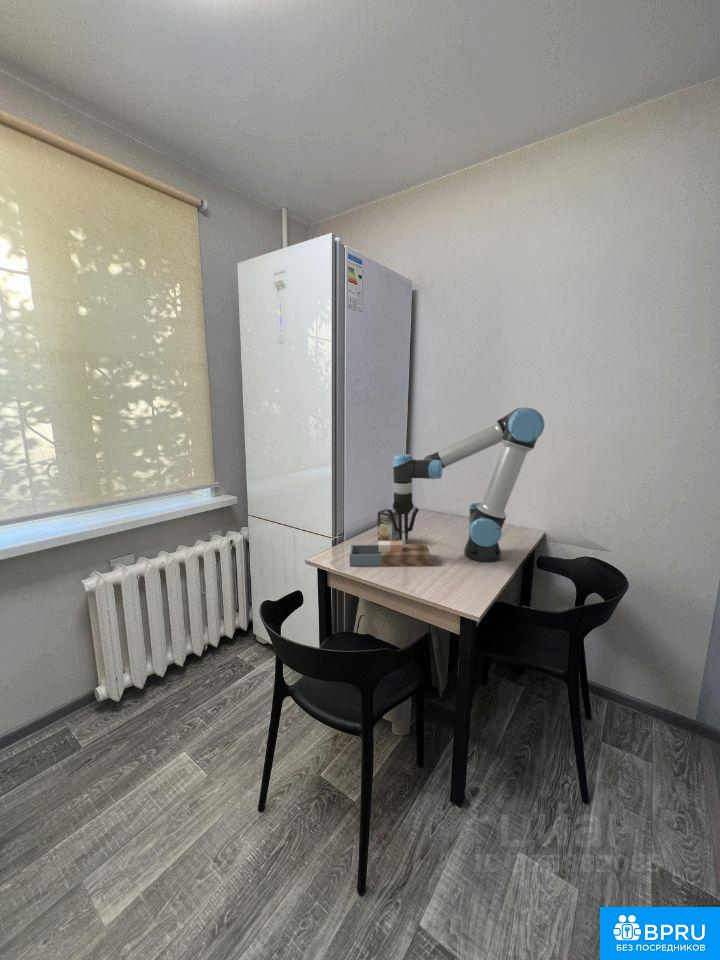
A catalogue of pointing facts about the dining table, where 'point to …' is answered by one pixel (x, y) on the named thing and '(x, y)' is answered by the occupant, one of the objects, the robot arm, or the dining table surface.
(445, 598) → the dining table surface
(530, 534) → the dining table surface
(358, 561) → the box
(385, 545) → the tile cream
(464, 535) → the dining table surface
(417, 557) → the wooden tile board
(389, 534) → the coffee box
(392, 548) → the tile terracotta
